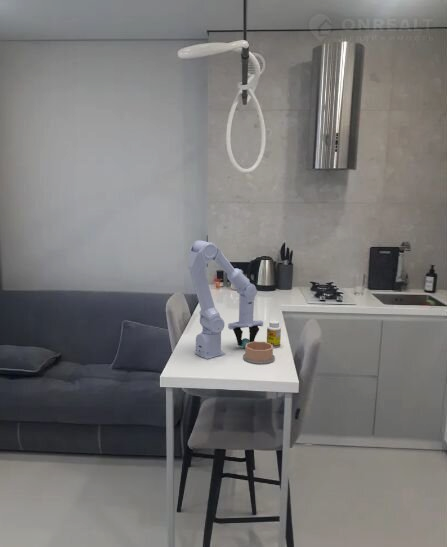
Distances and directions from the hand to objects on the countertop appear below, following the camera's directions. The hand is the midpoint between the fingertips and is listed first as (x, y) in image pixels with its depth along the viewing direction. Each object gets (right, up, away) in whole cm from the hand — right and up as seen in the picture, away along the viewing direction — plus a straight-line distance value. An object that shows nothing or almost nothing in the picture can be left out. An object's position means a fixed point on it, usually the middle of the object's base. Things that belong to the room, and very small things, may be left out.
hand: (245, 344), depth 185 cm
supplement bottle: (+12, -1, +3) cm, 12 cm away
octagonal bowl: (+5, -4, -11) cm, 13 cm away
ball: (0, +1, 0) cm, 1 cm away
